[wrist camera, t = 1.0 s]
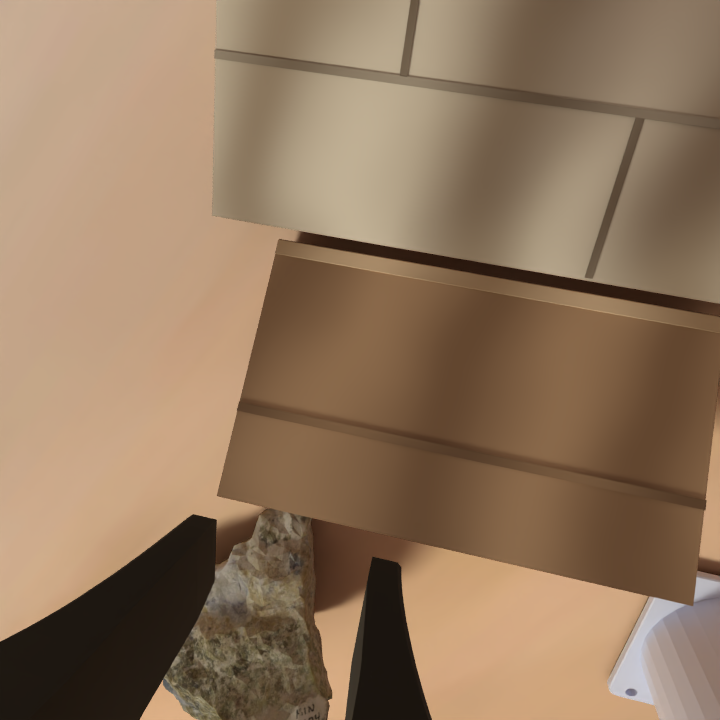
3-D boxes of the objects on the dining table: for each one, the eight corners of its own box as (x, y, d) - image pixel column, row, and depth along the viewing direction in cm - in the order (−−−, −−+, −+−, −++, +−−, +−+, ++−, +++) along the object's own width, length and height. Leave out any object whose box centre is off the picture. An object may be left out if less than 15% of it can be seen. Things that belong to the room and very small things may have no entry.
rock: (290, 493, 23) (333, 772, 18) (354, 508, 28) (401, 730, 23) (110, 562, 27) (106, 810, 22) (195, 564, 32) (207, 766, 27)
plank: (701, 327, 18) (727, 316, 17) (669, 593, 17) (694, 606, 15) (287, 253, 20) (278, 238, 18) (230, 492, 18) (216, 496, 17)
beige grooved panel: (968, -56, 14) (1024, -77, 12) (789, 307, 18) (815, 320, 16) (239, -129, 16) (218, -154, 14) (228, 211, 20) (211, 215, 18)
